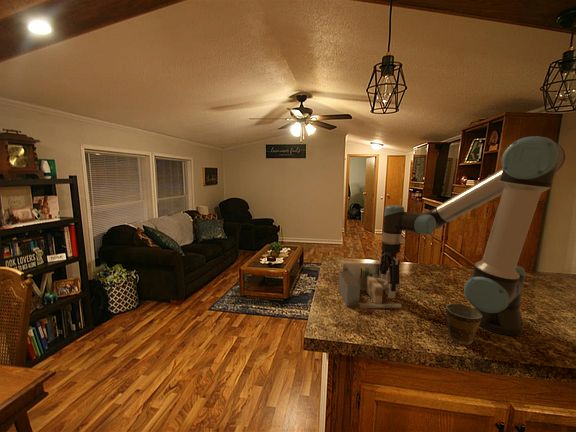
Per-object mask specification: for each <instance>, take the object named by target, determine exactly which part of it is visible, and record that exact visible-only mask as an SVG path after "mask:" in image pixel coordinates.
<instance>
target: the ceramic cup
mask: <svg viewBox="0 0 576 432" xmlns="http://www.w3.org/2000/svg"><path fill="white" fill-rule="evenodd" d="M441 306H443V307H444V308H445V312H444V311H443V309H442V308H441ZM474 308H475V307H473V306H469V305H466V304H462V303H447V304H446V303H439V305H438V309H439V311H440V312H441V314H442V315H443V316H444V318H445V319H446V322H447V335H448V337H449V339H450V340H452V341H453V342H455V343H457V344H459V345H466V346H470V345H471V344H472V343H473V342H474V339H475V338H476V334H477V333H478V329H479V327H480V326H479V325H480V322H481V319H482V314H481V313H480V312H479V311H478V310H476V309H474Z"/></svg>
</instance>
